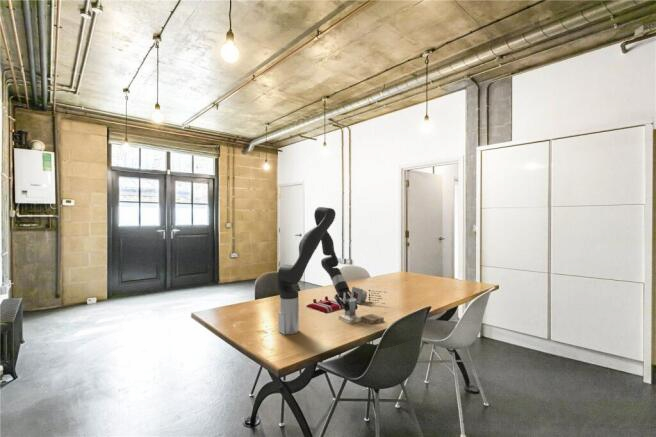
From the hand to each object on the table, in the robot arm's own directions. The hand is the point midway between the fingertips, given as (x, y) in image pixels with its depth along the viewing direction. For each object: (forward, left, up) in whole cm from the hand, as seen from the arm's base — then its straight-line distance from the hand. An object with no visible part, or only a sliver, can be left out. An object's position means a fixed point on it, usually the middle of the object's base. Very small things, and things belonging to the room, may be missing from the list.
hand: (351, 309), depth 177 cm
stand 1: (0, +2, -6) cm, 6 cm away
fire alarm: (+4, +32, -7) cm, 33 cm away
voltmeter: (+32, +22, -6) cm, 39 cm away
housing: (0, +2, -4) cm, 5 cm away
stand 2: (+9, -6, -6) cm, 13 cm away
